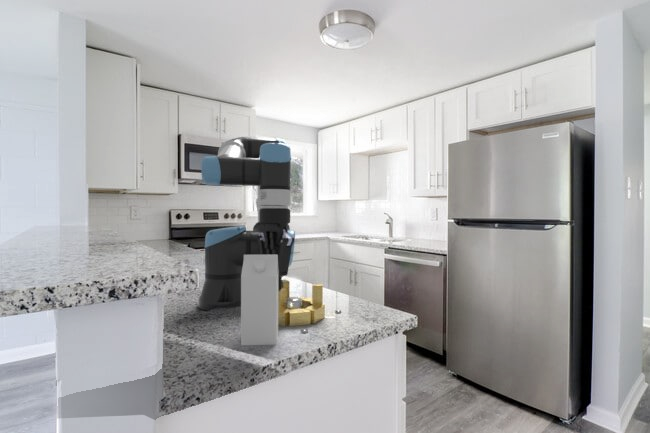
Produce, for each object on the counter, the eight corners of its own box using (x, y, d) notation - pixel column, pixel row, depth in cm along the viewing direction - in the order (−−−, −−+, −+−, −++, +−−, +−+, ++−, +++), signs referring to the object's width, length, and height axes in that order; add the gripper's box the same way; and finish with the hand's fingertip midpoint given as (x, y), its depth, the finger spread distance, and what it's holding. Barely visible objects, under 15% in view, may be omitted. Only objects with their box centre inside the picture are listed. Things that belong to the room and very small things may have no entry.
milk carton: (245, 338, 76) (246, 252, 76) (278, 337, 76) (278, 252, 76) (240, 351, 69) (241, 257, 68) (276, 350, 69) (276, 256, 69)
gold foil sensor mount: (252, 319, 85) (252, 287, 85) (286, 304, 98) (286, 277, 98) (303, 329, 78) (303, 294, 78) (333, 312, 91) (333, 282, 91)
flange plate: (237, 325, 84) (237, 302, 84) (284, 305, 102) (284, 287, 102) (306, 340, 75) (306, 315, 75) (345, 316, 92) (345, 295, 92)
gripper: (247, 207, 86) (247, 300, 86) (277, 207, 76) (276, 312, 77) (272, 207, 91) (272, 296, 91) (303, 207, 81) (302, 306, 82)
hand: (274, 303), depth 84 cm, fingers closed
